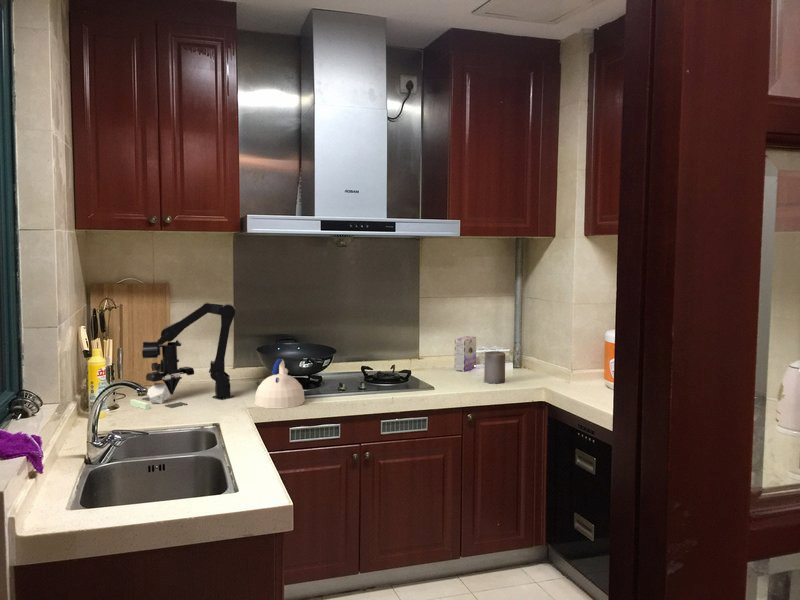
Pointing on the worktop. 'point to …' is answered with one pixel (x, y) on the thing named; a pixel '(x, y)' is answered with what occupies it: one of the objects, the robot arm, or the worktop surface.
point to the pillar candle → (494, 367)
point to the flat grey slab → (146, 405)
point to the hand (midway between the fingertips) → (171, 394)
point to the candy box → (465, 353)
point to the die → (158, 393)
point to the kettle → (279, 389)
